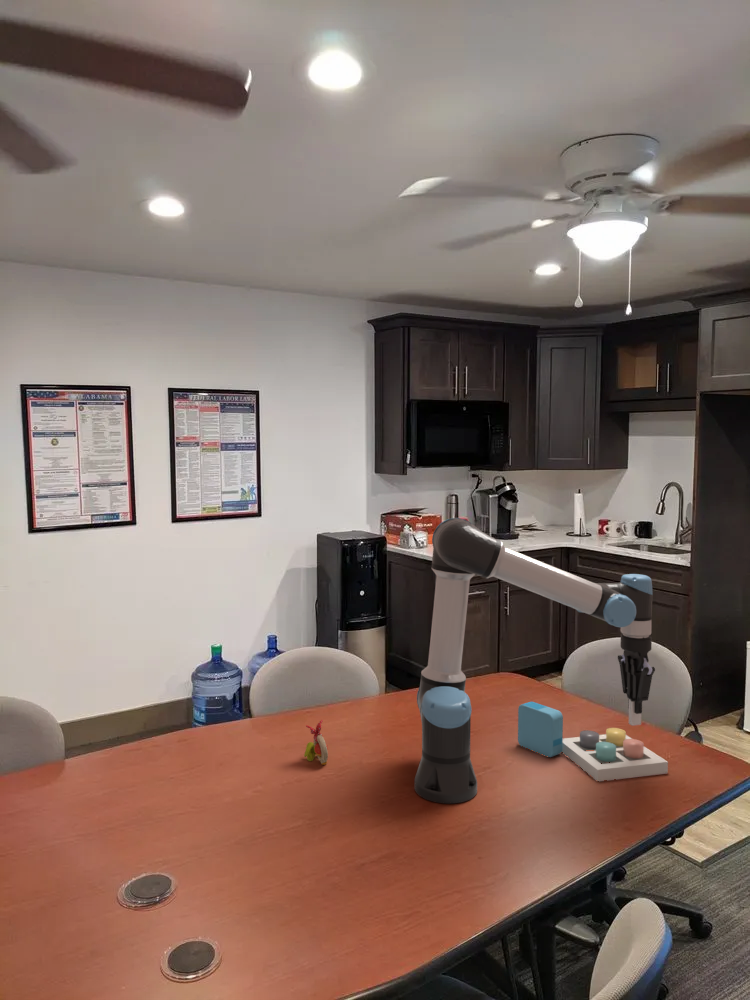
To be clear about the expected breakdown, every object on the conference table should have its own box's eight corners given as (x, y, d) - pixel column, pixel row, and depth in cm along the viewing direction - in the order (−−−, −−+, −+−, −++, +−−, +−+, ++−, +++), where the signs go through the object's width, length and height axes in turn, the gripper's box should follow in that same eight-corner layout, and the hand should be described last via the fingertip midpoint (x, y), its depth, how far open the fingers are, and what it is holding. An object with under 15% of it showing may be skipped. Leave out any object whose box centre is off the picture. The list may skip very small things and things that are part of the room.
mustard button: (612, 747, 190) (613, 735, 189) (602, 740, 194) (602, 728, 194) (629, 745, 191) (629, 733, 191) (618, 738, 196) (618, 727, 196)
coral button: (630, 759, 182) (630, 747, 182) (619, 751, 187) (619, 739, 187) (647, 757, 183) (647, 745, 183) (635, 749, 188) (636, 738, 188)
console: (597, 781, 176) (597, 769, 176) (557, 749, 195) (558, 739, 195) (667, 773, 181) (667, 761, 181) (622, 743, 200) (622, 732, 200)
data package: (562, 755, 192) (563, 711, 191) (552, 759, 189) (552, 715, 188) (527, 741, 201) (528, 699, 201) (517, 745, 198) (517, 703, 198)
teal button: (602, 762, 180) (602, 750, 180) (591, 754, 185) (592, 742, 185) (620, 760, 181) (620, 748, 181) (609, 752, 186) (609, 740, 186)
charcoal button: (585, 750, 188) (586, 738, 188) (576, 742, 193) (576, 731, 192) (602, 748, 189) (603, 736, 189) (592, 741, 194) (592, 729, 194)
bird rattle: (334, 769, 187) (320, 745, 194) (342, 737, 183) (327, 713, 190) (313, 775, 184) (299, 750, 191) (320, 742, 180) (306, 718, 187)
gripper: (664, 639, 178) (663, 731, 179) (633, 627, 190) (632, 714, 192) (638, 641, 176) (637, 734, 177) (608, 629, 189) (608, 716, 190)
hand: (634, 724), depth 184 cm, fingers closed
